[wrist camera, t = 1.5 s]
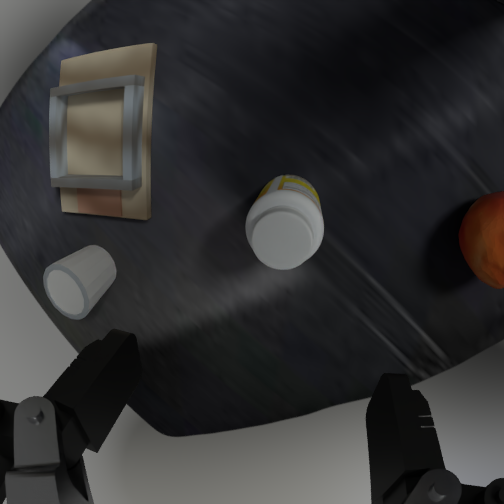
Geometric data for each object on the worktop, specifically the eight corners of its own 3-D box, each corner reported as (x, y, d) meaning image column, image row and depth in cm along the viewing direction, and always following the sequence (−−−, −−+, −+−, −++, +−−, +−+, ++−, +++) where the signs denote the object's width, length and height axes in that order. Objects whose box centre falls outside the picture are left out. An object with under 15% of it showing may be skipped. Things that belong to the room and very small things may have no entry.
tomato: (434, 244, 28) (466, 280, 21) (475, 165, 24) (519, 181, 17) (489, 278, 28) (522, 316, 21) (527, 209, 25) (569, 234, 17)
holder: (66, 61, 27) (49, 59, 24) (157, 44, 25) (142, 38, 22) (67, 209, 34) (51, 216, 31) (151, 217, 32) (137, 226, 30)
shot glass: (118, 244, 34) (83, 271, 28) (123, 295, 37) (93, 327, 31) (74, 236, 35) (37, 258, 29) (80, 284, 38) (49, 311, 31)
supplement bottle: (268, 236, 31) (250, 287, 22) (253, 180, 29) (227, 209, 20) (325, 225, 30) (332, 273, 20) (312, 167, 28) (316, 190, 18)
